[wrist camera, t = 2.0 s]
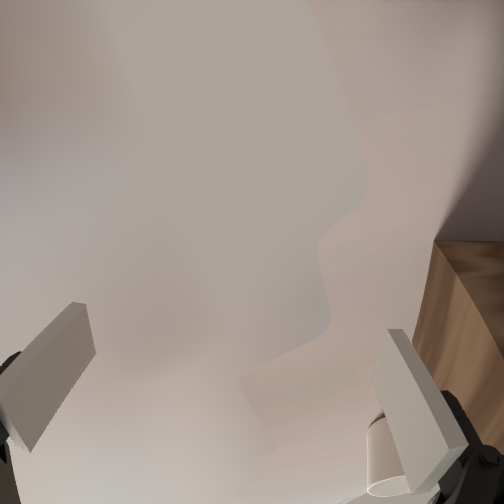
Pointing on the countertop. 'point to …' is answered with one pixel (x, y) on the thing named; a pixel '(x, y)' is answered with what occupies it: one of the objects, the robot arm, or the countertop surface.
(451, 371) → the post
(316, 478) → the countertop surface
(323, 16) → the countertop surface
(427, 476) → the robot arm
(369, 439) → the mug
